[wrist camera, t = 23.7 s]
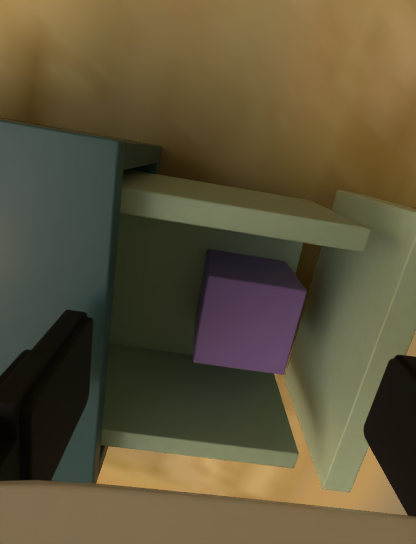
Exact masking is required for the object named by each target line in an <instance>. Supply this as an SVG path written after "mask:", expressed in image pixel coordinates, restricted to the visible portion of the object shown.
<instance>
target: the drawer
mask: <svg viewBox="0 0 416 544" xmlns="http://www.w3.org/2000/svg"><path fill="white" fill-rule="evenodd" d="M304 243H308V244H315V245H321V250H320V254H319V257H318V261H317V264H316V268H315V271H314V275H313V278H312V282H311V286H310V289H309V293H308V296H307V300H306V303H305V307H304V310H303V314H302V318H301V321H300V325H299V328H298V332H297V335H296V339H295V343H294V346H293V350H292V353H291V357H290V360H289V364H288V367H287V371H286V375H285V378H284V380H285V383H286V386H287V388H288V391H289V394H290V397H291V400H292V403H293V406H294V408H295V411H296V414H297V417H298V420H299V423H300V426H301V429H302V431H303V434H304V437H305V440H306V443H307V446H308V449H309V451H310V454H311V457H312V460H313V463H314V466H315V469H316V471H317V474H318V477H319V480H320V483H321V486H322V488H323V489H326V490H333V491H342V492H350V491H351V489H352V487H353V484H354V482H355V479H356V477H357V474H358V472H359V469H360V467H361V464H362V462H363V460H364V457H365V455H366V452H367V449H368V447H369V444H368V443H367V441H366V439H365V437H364V432H363V428H364V424H365V421H366V419H367V416H368V413H369V411H370V408H371V406H372V403H373V400H374V398H375V395H376V393H377V390H378V387H379V385H380V382H381V380H382V377H383V374H384V372H385V369H386V367H387V364H388V362H389V360H390V359H392V358H393V359H394V357H395V356H396V355H405V356H406V353H407V351H408V348H409V346H410V344H411V341H412V339H413V336H414V334H415V331H416V209H415V208H411V207H407V206H404V205H400V204H396V203H393V202H389V201H385V200H381V199H378V198H374V197H370V196H367V195H363V194H359V193H353V192H347V191H342V190H337V193H336V197H335V200H334V204H333V207H332V211H331V210H329V209H327V208H325V207H323V206H321V205H318V204H316V203H314V202H312V201H310V200H306V199H300V198H294V197H288V196H282V195H276V194H270V193H265V192H259V191H253V190H247V189H241V188H235V187H229V186H223V185H217V184H212V183H206V182H200V181H194V180H188V179H182V178H176V177H170V176H164V175H159V174H153V173H147V172H141V171H135V170H129V169H126V170H123V183H122V195H121V207H120V219H119V231H118V243H117V255H116V267H115V279H114V291H113V303H112V315H111V327H110V339H109V351H108V364H107V376H106V388H105V400H104V412H103V424H102V436H101V445H104V446H112V447H121V448H129V449H137V450H146V451H154V452H162V453H171V454H179V455H187V456H195V457H204V458H212V459H220V460H229V461H237V462H245V463H254V464H262V465H270V466H278V467H287V468H294V467H295V464H296V461H297V457H298V450H297V447H296V444H295V441H294V437H293V434H292V431H291V428H290V424H289V421H288V418H287V415H286V412H285V408H284V405H283V402H282V399H281V395H280V392H279V389H278V386H277V383H276V379H275V376H274V373H266V372H259V371H252V370H245V369H237V368H230V367H223V366H216V365H209V364H201V363H194V362H193V348H194V330H195V317H196V311H197V306H198V300H199V294H200V288H201V282H202V276H203V271H204V265H205V259H206V253H207V250H208V249H212V250H218V251H225V252H231V253H237V254H243V255H250V256H256V257H262V258H269V259H275V260H281V261H285V262H286V263H287V264H288V266H289V267H290V269H291V270H292V271H293V273H294V274H296V271H297V267H298V263H299V259H300V255H301V252H302V248H303V244H304Z"/></svg>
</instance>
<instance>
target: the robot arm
mask: <svg viewBox="0 0 416 544" xmlns="http://www.w3.org/2000/svg"><path fill="white" fill-rule="evenodd" d="M92 335H93V318H90V317H87V313H86V312H81V311H74V310H65V311H64V313H63V314H62V315H61V316H60V317H59V318H58V320H57V321H56V322H55V323H54V324H53V325H52V326H51V328H50V329H49V330H48V331H47V332H46V333H45V335H44V336H43V337H42V338H41V339H40V340H39V341H38V343H37V344H36V345H35V346H34V347H33V348H32V350H29V349H27V350H24V351H23V352H22V353H21V354H20V355H19V356H18V357H17V358H16V359H15V360H14V361H13V362H12V363H11V365H10V366H9V367H8V368H7V369H6V370H5V371H4V372H3V373H2V375H1V376H0V544H416V357H412V356H405V355H396V356H395V357H394V359H393V358H392V359H390V360H389V362H388V364H387V367H386V369H385V372H384V374H383V377H382V380H381V382H380V385H379V387H378V390H377V393H376V395H375V398H374V400H373V403H372V406H371V408H370V411H369V413H368V416H367V419H366V421H365V424H364V428H363V432H364V437H365V439H366V441H367V443H368V444H369V446H370V448H371V450H372V452H373V453H374V455H375V457H376V459H377V460H378V462H379V464H380V466H381V467H382V470H383V471H384V473H385V475H386V477H387V479H388V480H389V482H390V484H391V486H392V487H393V489H394V491H395V493H396V494H397V496H398V498H399V500H400V502H401V504H402V505H403V507H404V509H405V511H406V512H407V514H408V516H406V515H397V514H388V513H379V512H370V511H361V510H352V509H342V508H332V507H323V506H314V505H305V504H295V503H286V502H276V501H267V500H257V499H247V498H237V497H227V496H217V495H207V494H197V493H187V492H177V491H167V490H157V489H147V488H137V487H126V486H116V485H105V484H93V483H76V482H60V481H51V480H52V478H53V476H54V473H55V471H56V469H57V467H58V465H59V463H60V461H61V458H62V456H63V454H64V452H65V450H66V448H67V445H68V443H69V441H70V439H71V437H72V435H73V432H74V430H75V428H76V426H77V424H78V422H79V420H80V417H81V415H82V413H83V411H84V409H85V407H86V404H87V401H88V397H89V390H90V372H91V353H92Z"/></svg>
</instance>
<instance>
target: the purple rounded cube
mask: <svg viewBox="0 0 416 544" xmlns="http://www.w3.org/2000/svg"><path fill="white" fill-rule="evenodd" d="M306 294H307V290H306V289H305V288H304V286H303V285H302V283H301V282H300V281H299V279H298V278H297V277H296V275H295V274H294V273H293V271H292V270H291V269H290V267H289V266H288V264H287V263H286V262H285V261H281V260H275V259H269V258H262V257H256V256H250V255H243V254H237V253H231V252H225V251H218V250H212V249H208V250H207V253H206V259H205V265H204V271H203V276H202V282H201V288H200V294H199V300H198V306H197V311H196V317H195V330H194V348H193V362H194V363H201V364H209V365H216V366H223V367H230V368H237V369H245V370H252V371H259V372H266V373H274V374H281V375H283V374H284V372H285V368H286V365H287V361H288V358H289V354H290V351H291V347H292V343H293V340H294V336H295V333H296V329H297V326H298V322H299V319H300V315H301V311H302V308H303V304H304V301H305V297H306Z"/></svg>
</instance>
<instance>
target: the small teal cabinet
mask: <svg viewBox="0 0 416 544" xmlns="http://www.w3.org/2000/svg"><path fill="white" fill-rule="evenodd" d="M160 155H161V146H158V145H153V144H147V143H141V142H135V141H130V140H124V139H118V138H113V137H107V136H101V135H95V134H90V133H84V132H78V131H73V130H67V129H61V128H55V127H50V126H44V125H38V124H33V123H27V122H21V121H15V120H10V119H4V118H0V376H1V375H2V373H3V372H4V371H5V370H6V369H7V368H8V367H9V366H10V365H11V363H12V362H13V361H14V360H15V359H16V358H17V357H18V356H19V355H20V354H21V353H22V352H23V351H24V350H27V349H29V350H32V348H33V347H34V346H35V345H36V344H37V343H38V341H39V340H40V339H41V338H42V337H43V336H44V335H45V333H46V332H47V331H48V330H49V329H50V328H51V326H52V325H53V324H54V323H55V322H56V321H57V320H58V318H59V317H60V316H61V315H62V314H63V313H64V311H65V310H74V311H81V312H86V313H87V317H90V318H93V335H92V353H91V372H90V390H89V397H88V401H87V404H86V407H85V409H84V411H83V413H82V415H81V417H80V420H79V422H78V424H77V426H76V428H75V430H74V432H73V435H72V437H71V439H70V441H69V443H68V445H67V448H66V450H65V452H64V454H63V456H62V458H61V461H60V463H59V465H58V467H57V469H56V471H55V473H54V476H53V478H52V480H51V481H60V482H76V483H93V484H96V482H97V479H98V475H99V473H100V470H101V467H102V464H103V461H104V458H105V455H106V452H107V449H108V446H104V445H101V436H102V424H103V412H104V400H105V388H106V376H107V364H108V351H109V339H110V327H111V315H112V303H113V291H114V279H115V267H116V255H117V243H118V231H119V219H120V207H121V195H122V183H123V170H126V169H129V170H135V171H141V172H147V173H153V174H158V173H159V164H160Z"/></svg>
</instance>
